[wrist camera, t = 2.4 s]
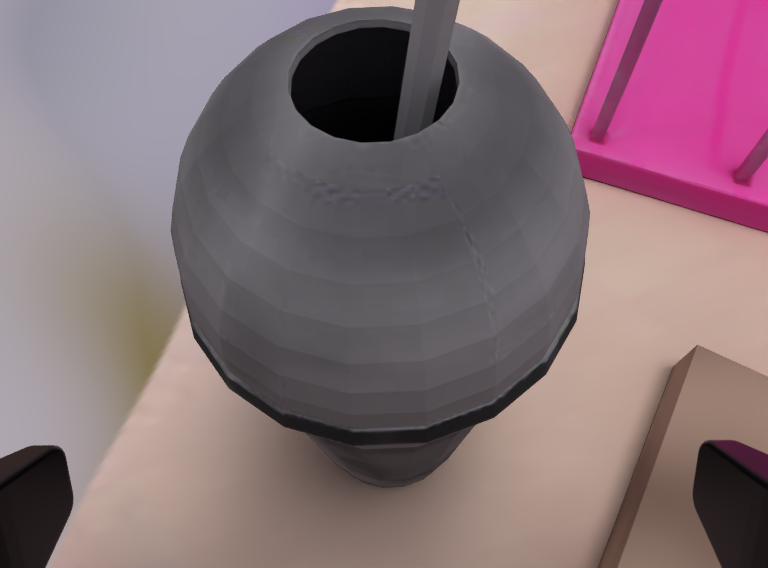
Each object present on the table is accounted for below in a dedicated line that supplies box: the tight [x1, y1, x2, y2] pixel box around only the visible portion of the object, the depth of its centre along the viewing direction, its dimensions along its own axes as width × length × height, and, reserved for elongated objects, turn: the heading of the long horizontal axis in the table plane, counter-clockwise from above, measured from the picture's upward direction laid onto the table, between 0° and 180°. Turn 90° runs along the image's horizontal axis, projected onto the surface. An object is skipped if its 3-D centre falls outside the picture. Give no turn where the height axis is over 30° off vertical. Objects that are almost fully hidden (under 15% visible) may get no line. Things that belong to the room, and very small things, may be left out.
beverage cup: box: [171, 0, 590, 487], centre depth 12 cm, size 7×7×20 cm
